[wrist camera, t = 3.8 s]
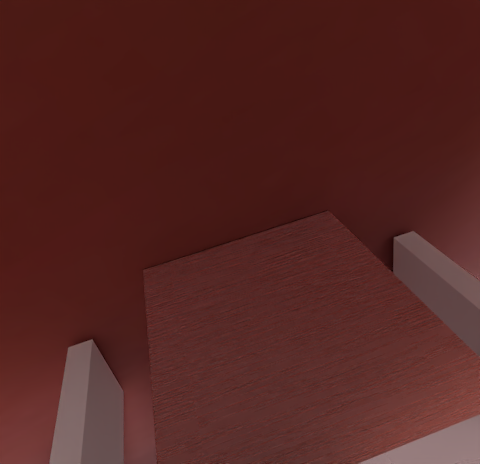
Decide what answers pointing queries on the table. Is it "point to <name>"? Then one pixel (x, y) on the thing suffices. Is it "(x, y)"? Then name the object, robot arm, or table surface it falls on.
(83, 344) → the robot arm
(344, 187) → the table surface
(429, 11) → the table surface
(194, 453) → the socket
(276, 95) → the table surface
